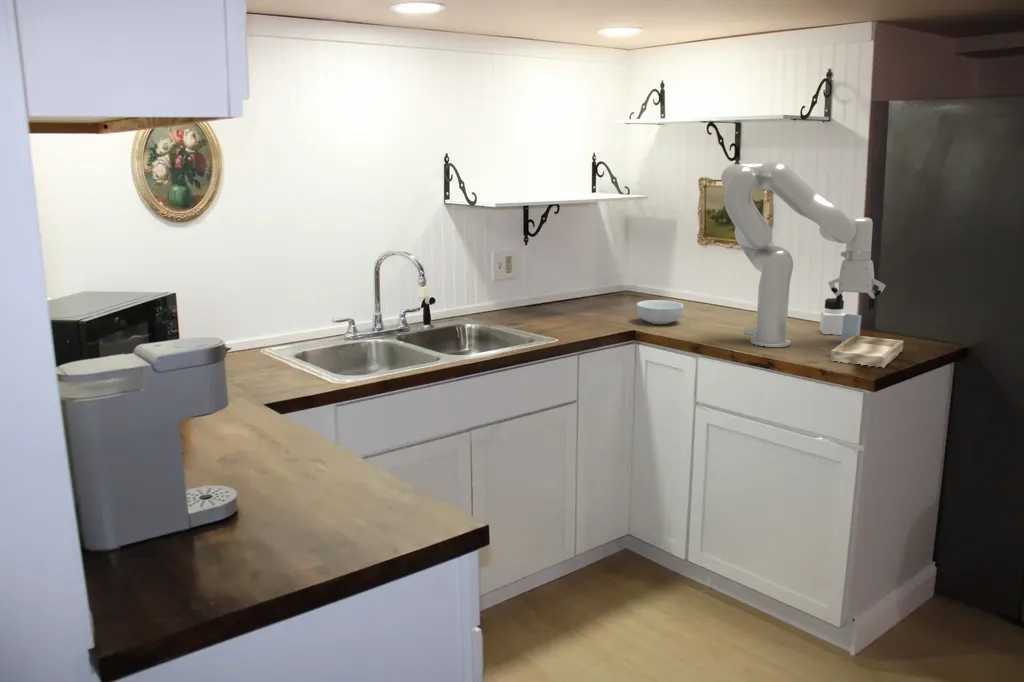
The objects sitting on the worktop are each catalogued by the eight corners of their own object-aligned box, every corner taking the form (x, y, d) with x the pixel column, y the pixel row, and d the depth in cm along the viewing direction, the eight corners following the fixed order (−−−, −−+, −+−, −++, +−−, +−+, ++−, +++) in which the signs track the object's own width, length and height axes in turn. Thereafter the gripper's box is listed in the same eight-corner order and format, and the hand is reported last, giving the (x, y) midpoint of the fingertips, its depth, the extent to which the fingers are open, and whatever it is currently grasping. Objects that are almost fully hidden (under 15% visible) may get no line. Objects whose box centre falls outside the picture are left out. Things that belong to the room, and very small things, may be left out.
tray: (830, 361, 251) (831, 350, 250) (852, 344, 271) (853, 335, 271) (883, 368, 242) (884, 357, 241) (902, 350, 263) (903, 340, 262)
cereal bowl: (632, 326, 303) (633, 306, 301) (639, 317, 318) (640, 299, 317) (680, 328, 298) (681, 309, 296) (685, 319, 313) (685, 301, 312)
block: (841, 343, 274) (843, 316, 272) (844, 340, 278) (847, 313, 276) (855, 344, 272) (857, 317, 270) (859, 342, 275) (861, 315, 273)
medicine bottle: (844, 335, 285) (847, 300, 282) (822, 334, 286) (825, 300, 284) (841, 331, 292) (843, 297, 289) (819, 330, 293) (822, 296, 291)
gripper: (826, 256, 270) (824, 308, 274) (884, 259, 260) (880, 313, 264) (833, 253, 276) (830, 304, 280) (889, 256, 266) (886, 309, 270)
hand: (855, 308), depth 272 cm, fingers open, 9 cm apart
